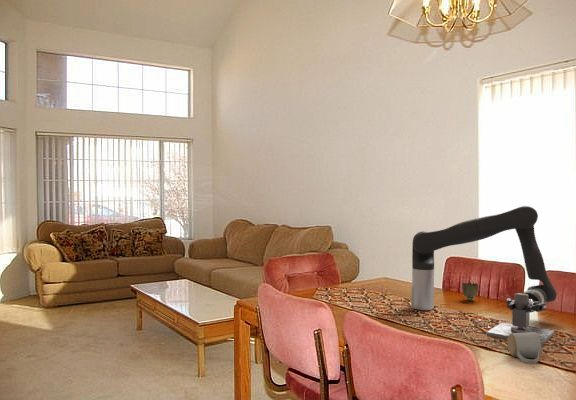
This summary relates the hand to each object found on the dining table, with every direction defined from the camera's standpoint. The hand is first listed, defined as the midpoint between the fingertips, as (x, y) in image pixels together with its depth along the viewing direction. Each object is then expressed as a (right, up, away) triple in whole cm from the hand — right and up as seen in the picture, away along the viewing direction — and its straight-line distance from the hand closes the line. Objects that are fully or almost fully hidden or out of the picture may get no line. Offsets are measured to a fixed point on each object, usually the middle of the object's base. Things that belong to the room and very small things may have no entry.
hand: (519, 308), depth 181 cm
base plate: (+1, -10, +2) cm, 10 cm away
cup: (+4, -9, +60) cm, 61 cm away
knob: (+2, -6, +2) cm, 7 cm away
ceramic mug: (-9, -10, -24) cm, 28 cm away
